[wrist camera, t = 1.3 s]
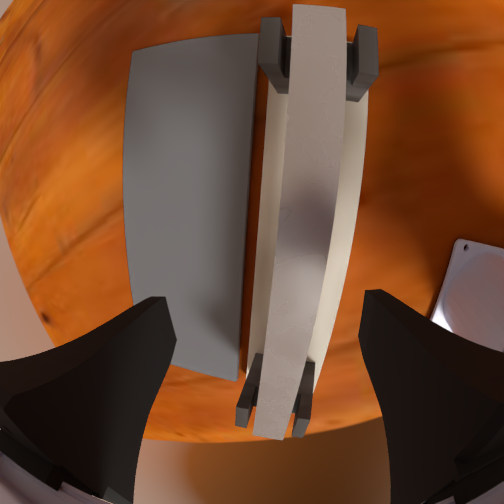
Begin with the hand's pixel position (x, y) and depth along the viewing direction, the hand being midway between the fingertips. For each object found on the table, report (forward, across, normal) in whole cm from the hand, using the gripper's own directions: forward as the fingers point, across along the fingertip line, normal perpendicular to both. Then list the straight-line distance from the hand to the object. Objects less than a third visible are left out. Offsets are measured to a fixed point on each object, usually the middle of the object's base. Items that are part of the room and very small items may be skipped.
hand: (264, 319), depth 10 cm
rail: (+5, -2, 0) cm, 5 cm away
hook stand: (+10, -2, 0) cm, 10 cm away
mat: (+11, +6, -1) cm, 13 cm away
